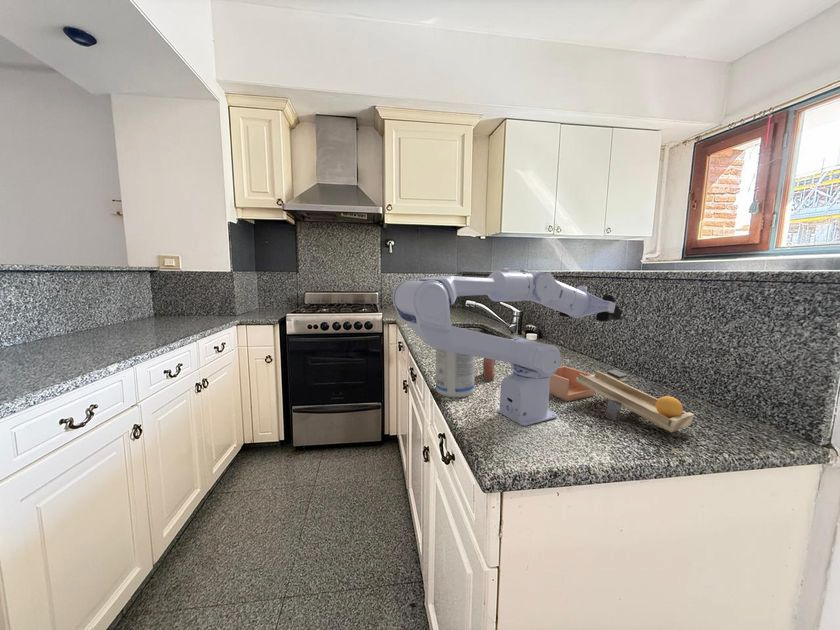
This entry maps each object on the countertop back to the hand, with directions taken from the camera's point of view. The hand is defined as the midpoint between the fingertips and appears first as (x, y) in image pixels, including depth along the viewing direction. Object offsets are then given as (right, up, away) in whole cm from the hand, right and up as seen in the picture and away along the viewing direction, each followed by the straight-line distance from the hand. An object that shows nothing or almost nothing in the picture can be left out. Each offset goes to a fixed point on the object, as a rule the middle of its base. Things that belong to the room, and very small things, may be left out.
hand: (603, 313), depth 74 cm
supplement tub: (-34, -20, +6) cm, 40 cm away
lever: (+4, -18, -6) cm, 19 cm away
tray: (-6, -20, +6) cm, 22 cm away
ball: (+4, -18, -14) cm, 23 cm away
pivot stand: (+1, -21, -7) cm, 22 cm away
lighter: (-23, -18, +18) cm, 34 cm away
